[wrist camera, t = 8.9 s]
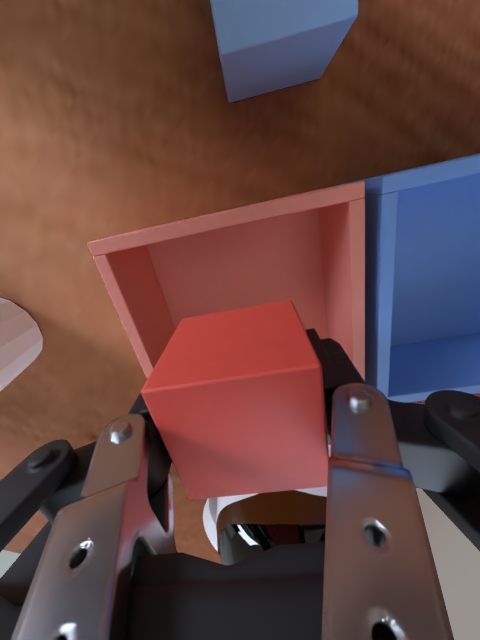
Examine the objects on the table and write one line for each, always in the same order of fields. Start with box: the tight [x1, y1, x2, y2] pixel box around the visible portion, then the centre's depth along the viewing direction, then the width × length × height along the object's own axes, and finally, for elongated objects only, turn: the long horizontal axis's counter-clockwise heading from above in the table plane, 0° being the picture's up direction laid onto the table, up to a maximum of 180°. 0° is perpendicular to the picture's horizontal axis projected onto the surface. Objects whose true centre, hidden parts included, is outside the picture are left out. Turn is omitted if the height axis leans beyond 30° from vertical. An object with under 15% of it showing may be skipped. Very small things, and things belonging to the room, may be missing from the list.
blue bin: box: [340, 153, 480, 403], centre depth 13 cm, size 11×11×5 cm
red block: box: [141, 300, 329, 500], centre depth 9 cm, size 4×4×4 cm
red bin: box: [87, 181, 365, 381], centre depth 14 cm, size 11×11×5 cm
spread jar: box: [203, 444, 331, 565], centre depth 18 cm, size 12×11×12 cm
